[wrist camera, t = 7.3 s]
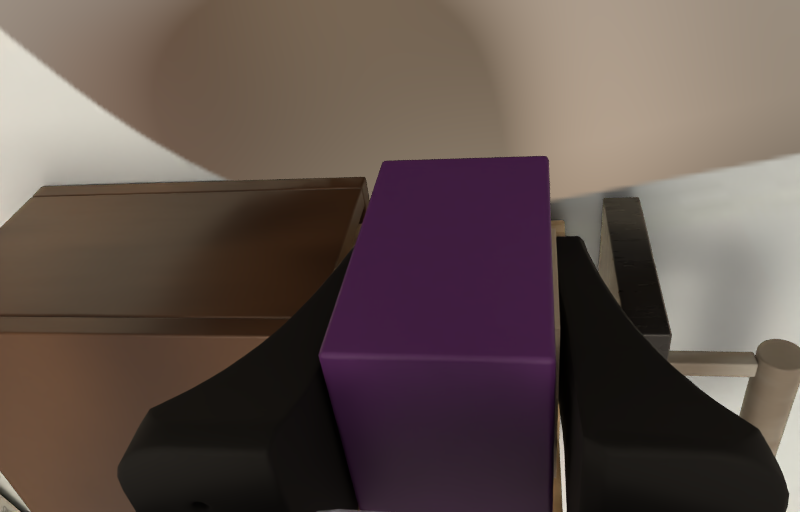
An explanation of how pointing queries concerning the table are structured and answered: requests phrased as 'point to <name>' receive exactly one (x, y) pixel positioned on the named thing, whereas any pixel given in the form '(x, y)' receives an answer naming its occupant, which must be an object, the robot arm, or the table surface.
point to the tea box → (6, 506)
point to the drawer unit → (144, 310)
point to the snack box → (450, 340)
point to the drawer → (643, 303)
